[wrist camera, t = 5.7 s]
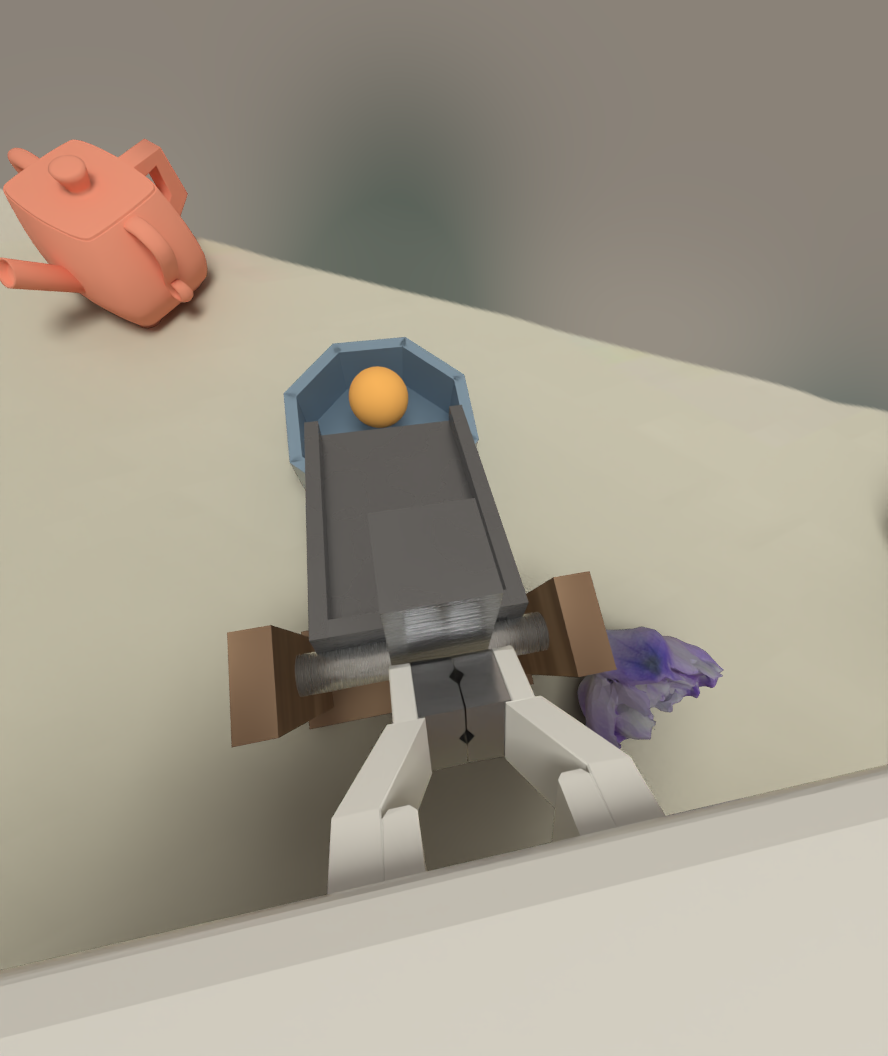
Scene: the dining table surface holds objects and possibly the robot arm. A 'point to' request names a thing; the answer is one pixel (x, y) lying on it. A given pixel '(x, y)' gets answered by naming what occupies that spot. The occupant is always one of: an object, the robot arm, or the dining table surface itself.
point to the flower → (642, 683)
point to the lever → (404, 555)
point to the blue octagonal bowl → (333, 372)
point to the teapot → (105, 229)
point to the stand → (277, 708)
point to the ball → (378, 397)
